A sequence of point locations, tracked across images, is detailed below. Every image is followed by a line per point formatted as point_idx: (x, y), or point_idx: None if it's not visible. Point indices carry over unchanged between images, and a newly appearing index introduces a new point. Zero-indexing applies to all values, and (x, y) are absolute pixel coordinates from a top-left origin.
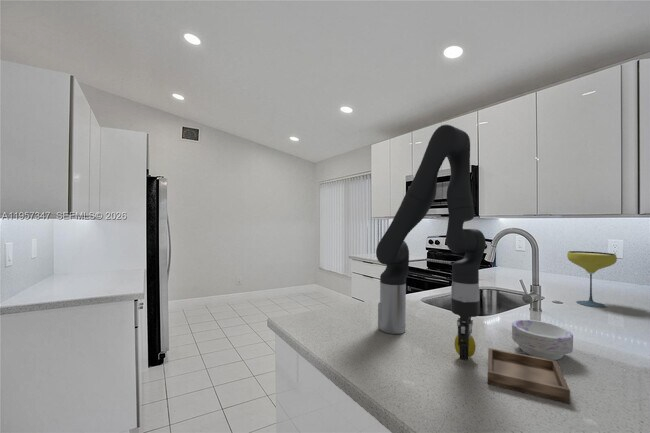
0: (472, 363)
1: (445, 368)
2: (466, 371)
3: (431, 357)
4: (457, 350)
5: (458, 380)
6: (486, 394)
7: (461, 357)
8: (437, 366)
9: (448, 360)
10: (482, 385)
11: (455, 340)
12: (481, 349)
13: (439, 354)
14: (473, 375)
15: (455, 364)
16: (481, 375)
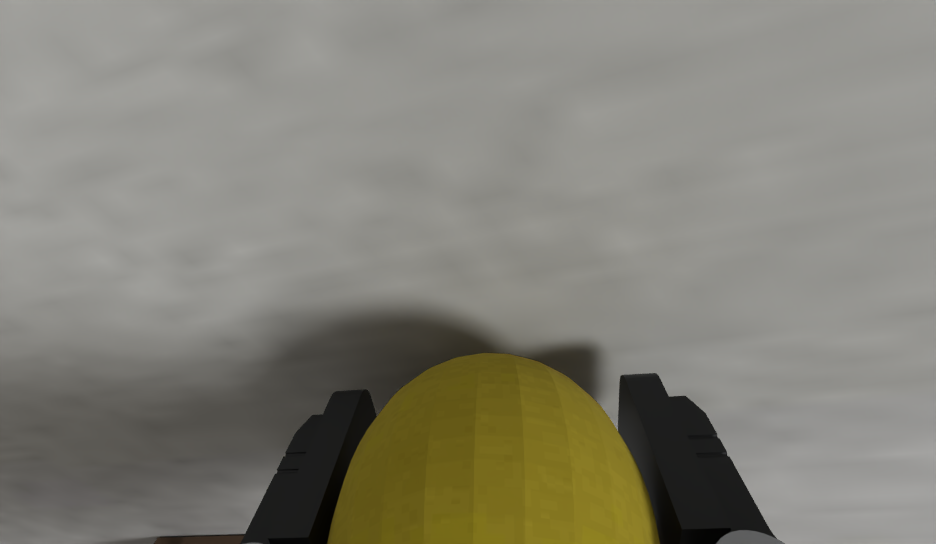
0: None
1: (97, 263)
2: (221, 421)
3: (226, 16)
4: (386, 407)
5: (3, 395)
6: (21, 537)
7: (305, 428)
8: (53, 176)
9: (322, 247)
10: (109, 517)
11: (402, 501)
12: (862, 471)
13: (423, 97)
14: (200, 466)
15: (282, 327)
16: (253, 504)
